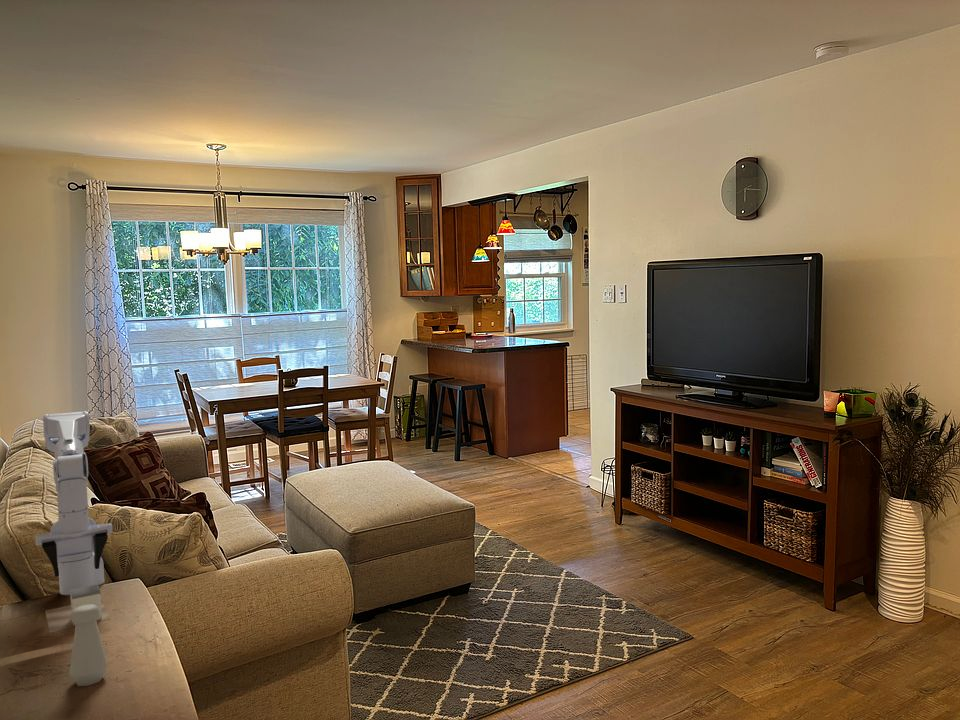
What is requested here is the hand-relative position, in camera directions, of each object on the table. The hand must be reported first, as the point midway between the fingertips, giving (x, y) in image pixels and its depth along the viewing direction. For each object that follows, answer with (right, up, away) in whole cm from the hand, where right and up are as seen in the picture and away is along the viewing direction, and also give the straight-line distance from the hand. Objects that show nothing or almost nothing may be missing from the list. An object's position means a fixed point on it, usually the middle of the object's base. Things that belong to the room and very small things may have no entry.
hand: (77, 571), depth 158 cm
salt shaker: (+20, -10, -32) cm, 39 cm away
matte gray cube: (+5, -9, -5) cm, 11 cm away
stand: (+1, -10, -2) cm, 10 cm away
